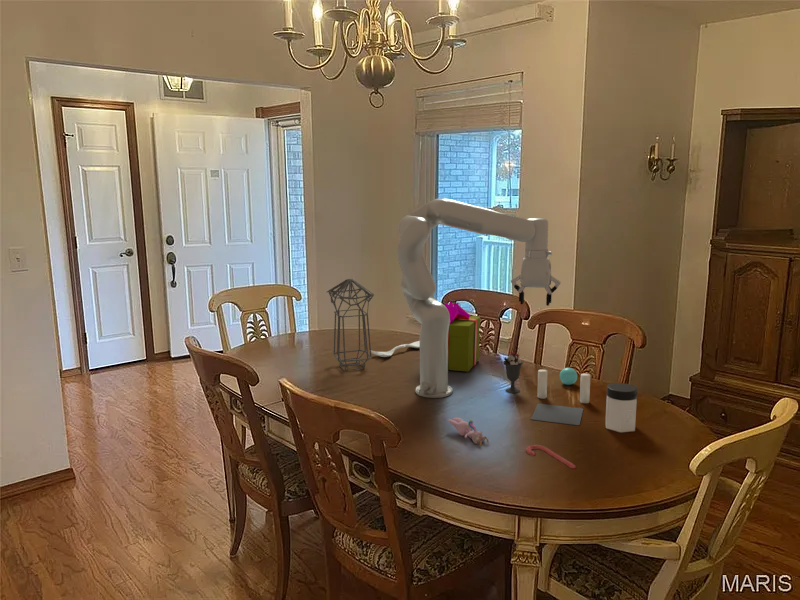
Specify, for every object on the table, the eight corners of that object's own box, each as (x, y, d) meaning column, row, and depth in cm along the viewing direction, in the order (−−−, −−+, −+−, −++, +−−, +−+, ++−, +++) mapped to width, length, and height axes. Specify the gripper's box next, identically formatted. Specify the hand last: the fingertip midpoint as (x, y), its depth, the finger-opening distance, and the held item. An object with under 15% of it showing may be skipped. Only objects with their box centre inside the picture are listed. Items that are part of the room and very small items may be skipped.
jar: (613, 434, 170) (616, 393, 167) (598, 423, 177) (600, 384, 175) (642, 430, 171) (644, 390, 169) (625, 420, 179) (627, 381, 177)
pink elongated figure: (492, 447, 166) (457, 422, 177) (495, 428, 164) (460, 403, 175) (475, 453, 162) (441, 427, 174) (477, 433, 160) (443, 408, 172)
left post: (545, 399, 198) (546, 372, 196) (536, 398, 199) (537, 371, 197) (547, 396, 201) (547, 370, 199) (538, 395, 202) (538, 369, 200)
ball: (576, 387, 208) (576, 371, 207) (558, 386, 210) (558, 369, 209) (577, 382, 214) (578, 366, 213) (560, 380, 216) (560, 364, 215)
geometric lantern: (366, 360, 245) (364, 274, 239) (377, 371, 231) (375, 280, 224) (328, 364, 240) (324, 277, 234) (336, 375, 226) (333, 283, 219)
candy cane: (557, 475, 147) (558, 470, 147) (521, 451, 161) (521, 446, 160) (577, 470, 150) (577, 465, 150) (539, 447, 163) (539, 442, 163)
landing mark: (579, 425, 176) (579, 425, 176) (530, 419, 181) (530, 419, 181) (583, 409, 188) (583, 408, 188) (537, 404, 193) (537, 403, 193)
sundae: (524, 389, 208) (525, 346, 205) (519, 395, 202) (520, 351, 199) (505, 386, 211) (506, 345, 208) (500, 392, 205) (501, 349, 202)
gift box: (480, 358, 246) (480, 298, 241) (477, 374, 225) (478, 308, 221) (430, 356, 249) (429, 297, 245) (423, 371, 229) (422, 307, 224)
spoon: (368, 358, 250) (368, 349, 249) (422, 343, 271) (422, 336, 271) (382, 362, 243) (382, 354, 243) (437, 347, 265) (437, 339, 264)
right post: (588, 403, 193) (590, 376, 191) (579, 402, 194) (580, 375, 192) (589, 400, 196) (590, 374, 194) (579, 399, 197) (581, 373, 195)
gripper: (563, 253, 207) (561, 303, 211) (512, 252, 214) (512, 301, 217) (560, 256, 201) (559, 307, 204) (508, 255, 207) (507, 305, 210)
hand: (534, 304), depth 210 cm, fingers open, 8 cm apart
